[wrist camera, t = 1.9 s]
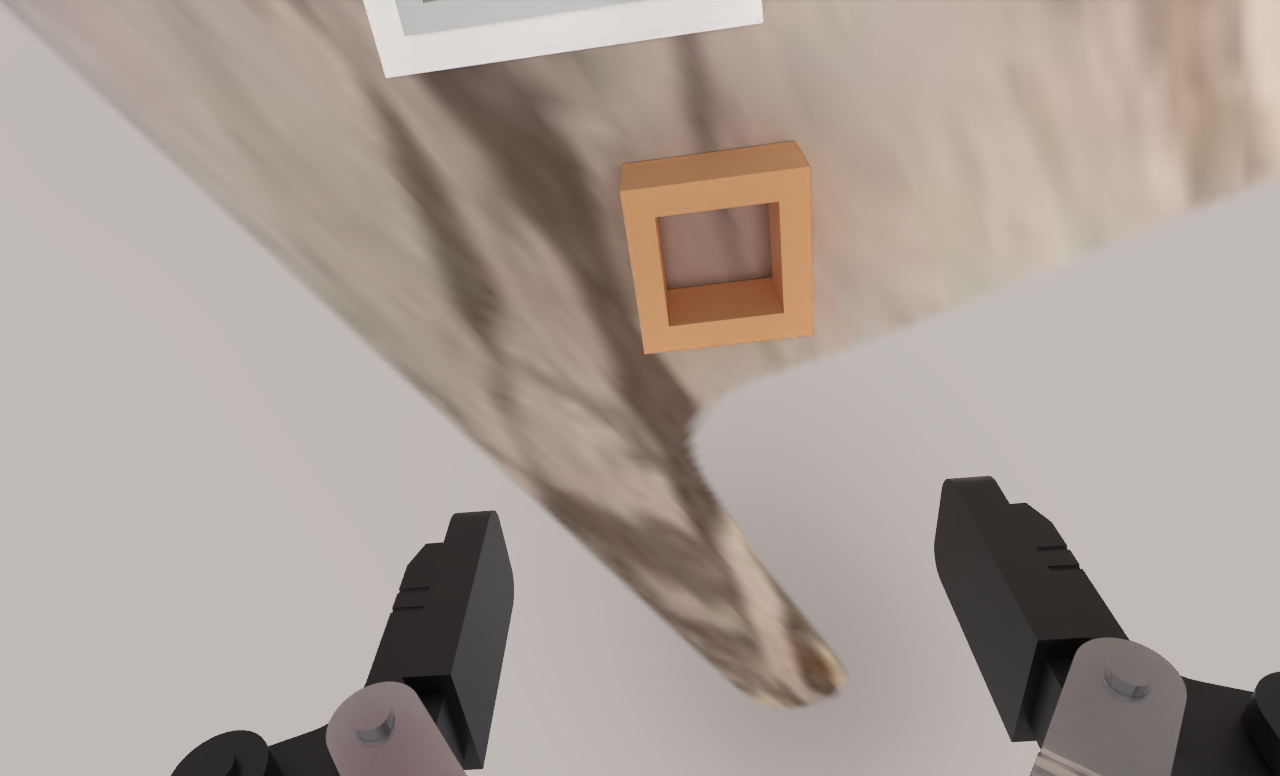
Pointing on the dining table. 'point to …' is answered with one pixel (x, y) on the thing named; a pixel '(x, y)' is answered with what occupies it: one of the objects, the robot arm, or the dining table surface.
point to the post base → (532, 27)
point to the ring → (733, 305)
